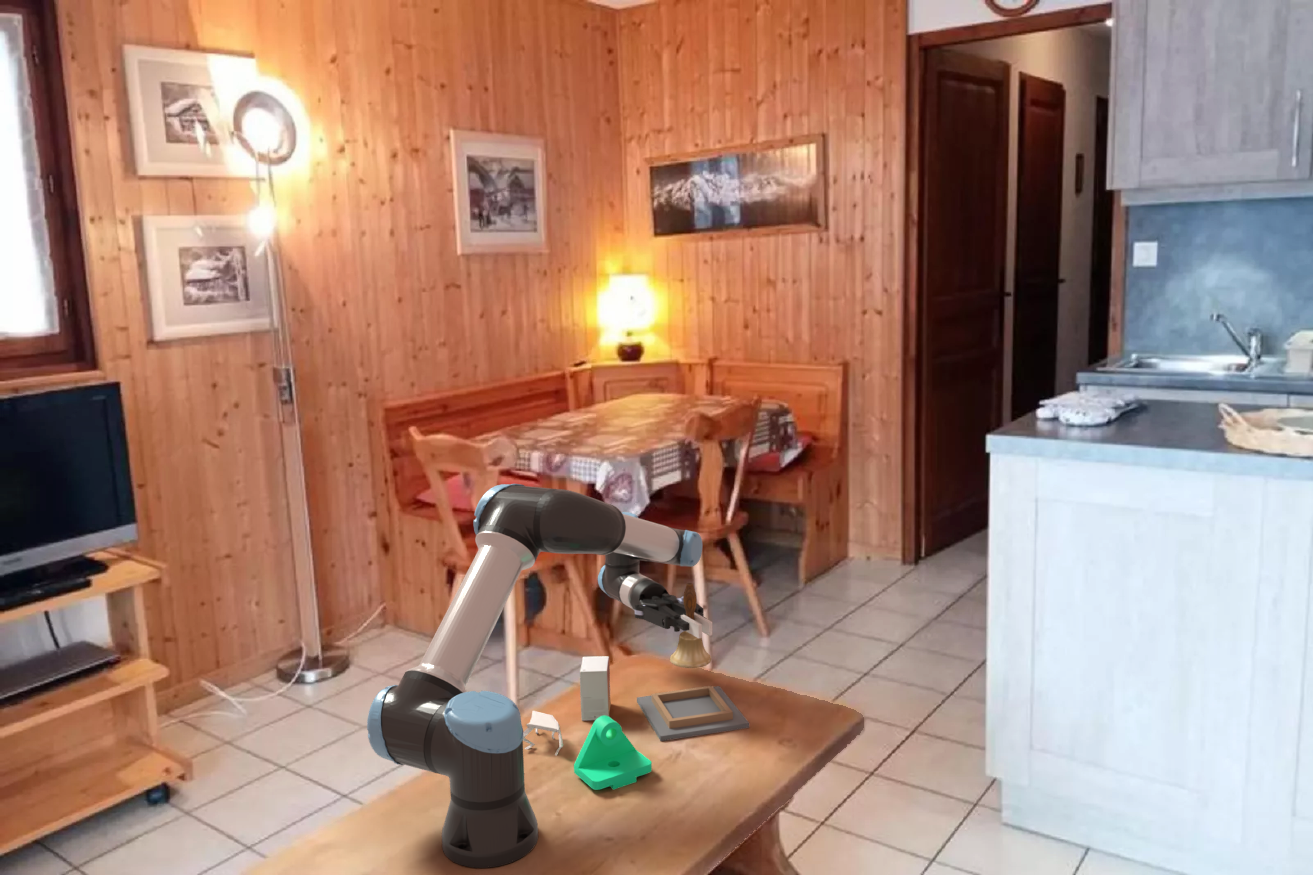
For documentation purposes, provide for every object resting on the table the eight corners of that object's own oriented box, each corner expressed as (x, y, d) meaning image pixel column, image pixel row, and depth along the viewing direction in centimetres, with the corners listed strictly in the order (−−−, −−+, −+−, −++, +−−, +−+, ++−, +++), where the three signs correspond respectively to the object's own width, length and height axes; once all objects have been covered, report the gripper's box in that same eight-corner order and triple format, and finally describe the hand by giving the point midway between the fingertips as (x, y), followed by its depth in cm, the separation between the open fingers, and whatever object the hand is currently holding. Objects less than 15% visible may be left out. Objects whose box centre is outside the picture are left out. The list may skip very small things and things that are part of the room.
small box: (609, 721, 206) (607, 671, 204) (580, 721, 206) (579, 671, 204) (611, 703, 214) (609, 655, 212) (584, 703, 214) (582, 655, 212)
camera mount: (595, 796, 178) (593, 741, 176) (574, 778, 184) (572, 724, 183) (654, 776, 184) (652, 723, 183) (632, 759, 191) (630, 707, 189)
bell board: (660, 741, 197) (660, 729, 197) (636, 702, 214) (636, 690, 214) (749, 727, 202) (749, 715, 201) (719, 690, 219) (719, 679, 218)
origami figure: (507, 745, 197) (506, 721, 196) (539, 729, 203) (538, 706, 202) (552, 764, 189) (550, 739, 188) (583, 747, 196) (582, 723, 195)
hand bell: (719, 661, 205) (719, 584, 202) (686, 672, 200) (684, 593, 197) (695, 648, 211) (693, 573, 209) (661, 658, 207) (660, 582, 204)
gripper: (674, 606, 224) (737, 640, 204) (614, 619, 217) (673, 657, 197) (674, 573, 223) (736, 604, 203) (613, 585, 215) (672, 619, 195)
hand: (705, 630), depth 200 cm, fingers closed on hand bell, 2 cm apart
